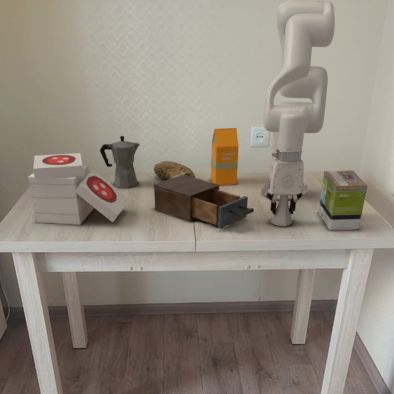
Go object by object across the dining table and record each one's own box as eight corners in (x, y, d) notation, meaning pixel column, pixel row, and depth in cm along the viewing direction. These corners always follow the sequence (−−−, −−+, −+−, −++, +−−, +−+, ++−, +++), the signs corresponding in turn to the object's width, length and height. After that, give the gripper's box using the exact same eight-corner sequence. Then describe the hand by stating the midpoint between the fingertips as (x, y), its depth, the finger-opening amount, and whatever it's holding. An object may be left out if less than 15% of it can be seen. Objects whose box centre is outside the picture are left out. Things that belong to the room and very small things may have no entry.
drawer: (259, 221, 161) (261, 200, 157) (234, 233, 152) (235, 212, 148) (211, 205, 172) (211, 186, 168) (184, 216, 164) (184, 196, 160)
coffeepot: (139, 179, 198) (135, 131, 188) (145, 186, 191) (142, 137, 180) (101, 183, 194) (96, 135, 183) (106, 190, 187) (101, 141, 176)
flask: (286, 228, 158) (290, 198, 152) (266, 223, 161) (269, 193, 155) (295, 221, 163) (299, 191, 157) (275, 216, 166) (278, 187, 160)
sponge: (198, 188, 193) (181, 164, 205) (196, 171, 187) (179, 146, 199) (167, 198, 191) (152, 173, 203) (164, 180, 185) (148, 155, 197)
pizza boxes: (117, 229, 157) (112, 172, 146) (28, 224, 160) (16, 167, 149) (131, 207, 172) (127, 154, 162) (49, 203, 175) (40, 151, 165)
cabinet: (218, 209, 171) (219, 184, 166) (190, 221, 162) (190, 195, 157) (183, 198, 180) (183, 174, 175) (154, 209, 171) (153, 184, 166)
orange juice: (236, 184, 194) (239, 130, 182) (215, 185, 192) (216, 131, 180) (231, 178, 200) (233, 125, 188) (210, 179, 198) (211, 126, 186)
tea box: (316, 213, 169) (323, 169, 160) (345, 212, 169) (353, 169, 161) (328, 230, 157) (336, 184, 148) (359, 230, 157) (369, 184, 149)
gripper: (263, 159, 146) (258, 217, 157) (319, 158, 147) (310, 216, 158) (259, 152, 152) (254, 209, 163) (313, 152, 153) (305, 208, 164)
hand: (282, 212), depth 160 cm, fingers closed on flask, 5 cm apart
